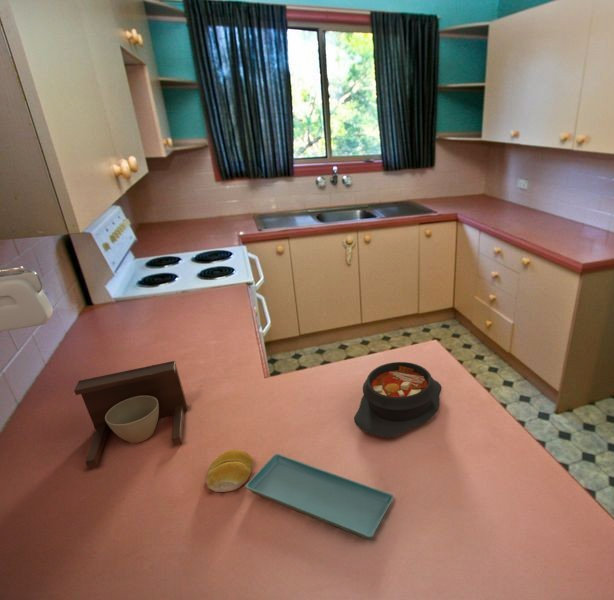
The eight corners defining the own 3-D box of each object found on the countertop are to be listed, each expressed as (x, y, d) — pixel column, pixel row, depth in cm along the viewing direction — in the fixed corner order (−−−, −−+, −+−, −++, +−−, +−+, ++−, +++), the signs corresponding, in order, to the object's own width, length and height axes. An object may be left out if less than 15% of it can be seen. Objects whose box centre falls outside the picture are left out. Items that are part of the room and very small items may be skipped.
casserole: (396, 372, 115) (395, 345, 111) (458, 393, 105) (459, 364, 102) (335, 425, 96) (332, 394, 92) (405, 457, 86) (404, 423, 83)
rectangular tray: (395, 502, 76) (394, 492, 75) (372, 546, 69) (371, 536, 68) (277, 461, 86) (276, 452, 85) (245, 496, 78) (243, 486, 77)
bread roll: (256, 456, 88) (253, 440, 86) (247, 490, 80) (243, 474, 78) (215, 460, 87) (211, 445, 85) (201, 495, 79) (197, 479, 77)
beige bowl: (112, 458, 88) (102, 430, 85) (116, 429, 97) (107, 403, 94) (166, 441, 92) (157, 414, 90) (165, 415, 101) (158, 390, 98)
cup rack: (186, 442, 92) (171, 392, 87) (83, 470, 85) (60, 417, 80) (188, 407, 103) (174, 360, 98) (97, 429, 97) (78, 380, 92)
